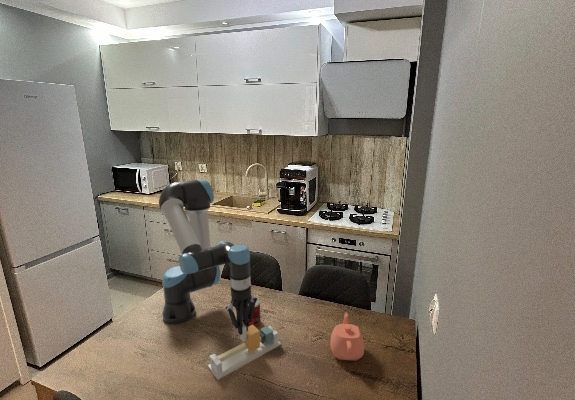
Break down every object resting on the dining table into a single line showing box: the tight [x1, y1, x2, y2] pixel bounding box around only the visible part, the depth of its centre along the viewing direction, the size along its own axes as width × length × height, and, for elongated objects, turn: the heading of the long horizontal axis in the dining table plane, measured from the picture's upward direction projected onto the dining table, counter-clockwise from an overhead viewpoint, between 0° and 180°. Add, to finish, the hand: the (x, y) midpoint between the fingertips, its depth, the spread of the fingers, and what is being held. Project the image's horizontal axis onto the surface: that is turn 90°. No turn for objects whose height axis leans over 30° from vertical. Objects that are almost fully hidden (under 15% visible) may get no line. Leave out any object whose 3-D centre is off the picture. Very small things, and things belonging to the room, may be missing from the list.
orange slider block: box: [242, 325, 260, 353], centre depth 125 cm, size 5×5×8 cm
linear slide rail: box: [207, 325, 282, 380], centre depth 125 cm, size 8×29×7 cm, turn 129°
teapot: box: [329, 311, 365, 362], centre depth 126 cm, size 13×20×12 cm, turn 175°
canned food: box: [248, 298, 261, 328], centre depth 144 cm, size 8×8×11 cm
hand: (243, 339), depth 123 cm, fingers closed
